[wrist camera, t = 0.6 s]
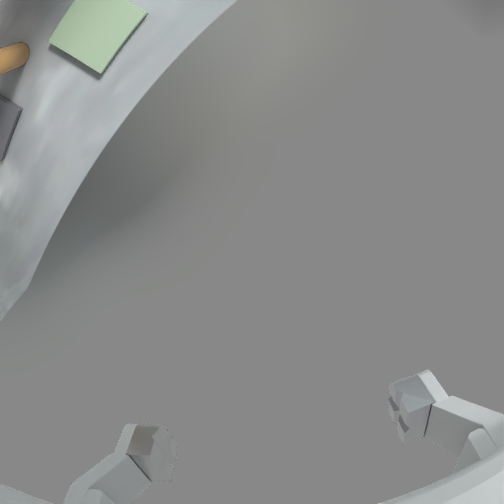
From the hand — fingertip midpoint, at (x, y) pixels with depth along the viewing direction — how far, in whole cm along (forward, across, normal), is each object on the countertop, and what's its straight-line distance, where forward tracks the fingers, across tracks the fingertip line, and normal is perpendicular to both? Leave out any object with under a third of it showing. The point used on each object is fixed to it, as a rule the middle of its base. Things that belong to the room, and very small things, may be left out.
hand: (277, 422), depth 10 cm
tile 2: (+39, +18, -39) cm, 58 cm away
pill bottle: (+37, +35, -42) cm, 66 cm away
